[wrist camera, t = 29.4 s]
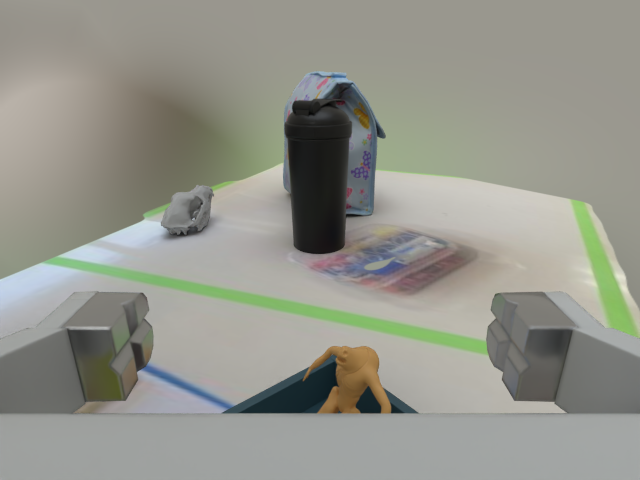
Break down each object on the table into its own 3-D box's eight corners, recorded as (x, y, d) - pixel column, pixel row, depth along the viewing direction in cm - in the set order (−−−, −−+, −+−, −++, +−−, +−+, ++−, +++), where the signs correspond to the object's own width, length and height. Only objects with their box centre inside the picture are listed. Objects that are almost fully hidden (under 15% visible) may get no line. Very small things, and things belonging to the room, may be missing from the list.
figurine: (266, 473, 31) (256, 330, 26) (338, 440, 34) (340, 305, 29) (323, 586, 24) (323, 419, 20) (408, 533, 27) (424, 376, 22)
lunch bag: (388, 215, 86) (396, 71, 76) (307, 224, 81) (304, 72, 71) (346, 187, 106) (349, 70, 96) (279, 193, 101) (274, 71, 91)
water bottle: (360, 240, 73) (365, 98, 65) (327, 261, 66) (327, 102, 57) (312, 228, 79) (310, 96, 70) (276, 246, 71) (269, 100, 62)
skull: (144, 223, 74) (171, 166, 79) (175, 246, 82) (198, 192, 86) (179, 226, 71) (205, 166, 76) (209, 250, 78) (231, 194, 83)
